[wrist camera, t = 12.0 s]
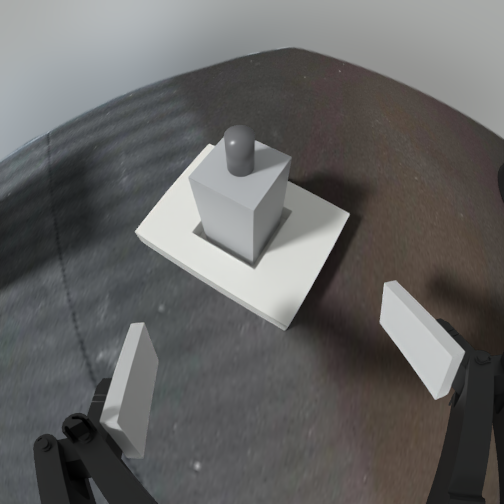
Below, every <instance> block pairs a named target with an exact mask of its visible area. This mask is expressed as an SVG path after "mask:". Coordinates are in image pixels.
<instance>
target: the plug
mask: <svg viewBox="0 0 504 504" xmlns="http://www.w3.org/2000/svg"><path fill="white" fill-rule="evenodd" d="M291 159H292V157H290V156H288V155H286V154H284V153H282V152H280V151H277V150H275V149H273V148H271V147H269V146H267V145H264V144H262V143H260V142H258V141H255V133H254V131H253V130H252V129H251V128H250V127H248V126H245V125H235V126H232V127H230V128H228V129H227V130H226V131H225V133H224V137H223V138H222V139H221V141H220V142H219V143H218V144H217V145H216V146H215V147H214V148H213V149H212V150H211V152H210V153H209V154H208V155H207V156H206V157H205V158H204V159H203V161H202V162H201V163H200V164H199V165H198V166H197V168H196V169H195V170H194V171H193V172H192V173H191V174H190V176H189V177H188V178H189V182H190V185H191V189H192V192H193V195H194V199H195V202H196V205H197V209H198V212H199V215H200V218H201V222H202V225H203V228H204V231H205V234H206V238H207V240H209V241H210V242H212V243H214V244H216V245H217V246H219V247H221V248H222V249H224V250H226V251H228V252H229V253H231V254H233V255H234V256H236V257H238V258H240V259H241V260H243V261H245V262H247V263H248V264H250V265H252V266H253V265H254V263H255V262H256V260H257V259H258V257H259V256H260V254H261V253H262V251H263V250H264V248H265V246H266V245H267V243H268V242H269V240H270V239H271V237H272V236H273V234H274V232H275V231H276V229H277V228H278V226H279V225H280V221H281V216H282V210H283V205H284V199H285V194H286V188H287V182H288V176H289V171H290V165H291Z"/></svg>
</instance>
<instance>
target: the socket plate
mask: <svg viewBox="0 0 504 504" xmlns="http://www.w3.org/2000/svg"><path fill="white" fill-rule="evenodd" d="M214 147H215V146H213V145H211V144H208V145H207V146H206V148H205V149H204V150H203V151H202V152H201V153H200V154H199V155H198V156H197V158H196V159H195V160H194V161H193V162H192V163H191V164H190V165H189V167H188V168H187V169H186V170H185V171H184V172H183V173H182V175H181V176H180V177H179V178H178V179H177V180H176V182H175V183H174V184H173V185H172V186H171V187H170V189H169V190H168V191H167V192H166V193H165V195H164V196H163V197H162V198H161V199H160V201H159V202H158V203H157V204H156V206H155V207H154V208H153V209H152V211H151V212H150V213H149V214H148V216H147V217H146V218H145V219H144V221H143V222H142V223H141V224H140V226H139V227H138V228H137V230H136V231H135V233H136V234H137V236H138V237H139V238H140V239H141V241H142V242H143V243H144V244H146V245H147V246H149V247H150V248H152V249H153V250H155V251H156V252H158V253H159V254H161V255H163V256H164V257H166V258H167V259H169V260H170V261H172V262H173V263H175V264H176V265H178V266H179V267H181V268H183V269H184V270H186V271H187V272H189V273H190V274H192V275H194V276H195V277H197V278H198V279H200V280H201V281H203V282H205V283H206V284H208V285H209V286H211V287H213V288H214V289H216V290H217V291H219V292H221V293H222V294H224V295H226V296H227V297H229V298H230V299H232V300H234V301H235V302H237V303H239V304H240V305H242V306H244V307H245V308H247V309H249V310H250V311H252V312H254V313H255V314H257V315H259V316H260V317H262V318H264V319H265V320H267V321H269V322H271V323H272V324H274V325H276V326H277V327H279V328H281V329H283V330H284V331H285V330H286V329H287V328H288V326H289V325H290V323H291V321H292V320H293V318H294V316H295V314H296V313H297V311H298V309H299V308H300V306H301V304H302V302H303V301H304V299H305V297H306V295H307V294H308V292H309V290H310V288H311V286H312V285H313V283H314V281H315V279H316V277H317V276H318V274H319V272H320V270H321V268H322V266H323V265H324V263H325V261H326V259H327V257H328V255H329V253H330V252H331V250H332V248H333V246H334V244H335V242H336V240H337V238H338V236H339V234H340V232H341V231H342V229H343V227H344V225H345V223H346V221H347V219H348V217H349V215H350V214H349V213H348V212H346V211H344V210H342V209H340V208H339V207H337V206H335V205H333V204H331V203H329V202H328V201H326V200H324V199H322V198H320V197H318V196H316V195H314V194H312V193H311V192H309V191H307V190H305V189H303V188H301V187H299V186H297V185H295V184H293V183H291V182H289V181H288V182H287V188H286V194H285V199H284V205H283V210H282V216H281V221H280V225H279V226H278V228H277V229H276V231H275V232H274V234H273V236H272V237H271V239H270V240H269V242H268V243H267V245H266V246H265V248H264V250H263V251H262V253H261V254H260V256H259V257H258V259H257V260H256V262H255V263H254V265H253V266H252V265H250V264H248V263H247V262H245V261H243V260H241V259H240V258H238V257H236V256H234V255H233V254H231V253H229V252H228V251H226V250H224V249H222V248H221V247H219V246H217V245H216V244H214V243H212V242H210V241H209V240H207V238H206V234H205V231H204V228H203V225H202V222H201V218H200V215H199V212H198V209H197V205H196V202H195V199H194V195H193V192H192V189H191V185H190V182H189V178H188V177H189V176H190V174H191V173H192V172H193V171H194V170H195V169H196V168H197V166H198V165H199V164H200V163H201V162H202V161H203V159H204V158H205V157H206V156H207V155H208V154H209V153H210V152H211V150H212V149H213V148H214Z"/></svg>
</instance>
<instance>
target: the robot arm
mask: <svg viewBox="0 0 504 504" xmlns="http://www.w3.org/2000/svg"><path fill="white" fill-rule="evenodd" d="M498 183H499V189H500V192H501V196H502V199H503V201H504V164H503V165H502V166H501V167H500V169H499V172H498ZM380 324H381V325H382V327H383V328H384V329H385V331H386V332H387V333H388V335H389V336H390V337H391V339H392V340H393V341H394V343H395V344H396V345H397V347H398V348H399V349H400V351H401V352H402V353H403V355H404V356H405V358H406V359H407V360H408V362H409V363H410V364H411V366H412V367H413V369H414V370H415V371H416V373H417V374H418V376H419V377H420V379H421V380H422V381H423V383H424V384H425V386H426V387H427V388H428V390H429V391H430V393H431V394H432V396H433V397H434V399H435V400H436V399H438V398H441V397H443V396H445V395H447V394H448V392H449V390H450V388H451V386H452V387H453V388H454V389H455V392H454V394H453V396H452V398H451V400H450V402H449V406H450V405H451V403H452V405H451V411H450V417H449V422H448V427H447V432H446V436H445V441H444V445H443V449H442V453H441V457H440V460H439V464H438V468H437V471H436V475H435V478H434V481H433V484H432V487H431V490H430V493H429V496H428V499H427V502H426V504H485V499H484V498H483V497H482V490H483V485H484V480H485V475H486V469H487V463H488V456H489V449H490V441H491V431H492V423H493V429H494V436H495V443H496V451H497V460H498V471H499V487H500V504H504V352H503V354H502V355H496V356H491V355H490V354H489V353H488V352H486V351H483V350H476V351H475V350H474V349H473V347H472V346H471V345H470V344H469V343H468V342H467V341H466V340H465V339H464V338H463V337H462V336H461V335H459V333H458V332H457V331H456V330H454V328H453V327H452V326H451V325H450V324H449V323H448V322H446V321H444V320H442V319H437V320H435V319H434V318H433V317H432V316H431V315H430V314H429V313H428V312H427V311H426V310H425V309H424V308H423V307H422V306H421V305H420V304H419V303H418V302H417V301H416V300H415V299H414V298H413V297H412V296H411V295H410V294H409V293H408V292H407V291H406V290H405V289H404V288H403V287H402V286H401V285H400V284H399V283H398V282H397V281H396V280H395V281H391V282H386V283H384V290H383V299H382V308H381V316H380ZM158 362H159V360H158V358H157V355H156V353H155V350H154V348H153V345H152V342H151V340H150V337H149V334H148V332H147V329H146V326H145V323H144V322H143V323H134V324H131V325H130V328H129V331H128V334H127V337H126V339H125V342H124V345H123V348H122V351H121V354H120V357H119V360H118V363H117V366H116V369H115V372H114V375H113V378H103V380H102V381H101V382H100V383H99V384H98V386H97V388H96V391H95V394H94V396H93V399H92V403H91V405H90V409H89V412H88V415H87V416H86V415H85V414H82V413H75V414H72V415H70V416H69V417H67V418H66V419H65V421H64V422H63V425H62V431H63V433H64V434H65V435H66V437H67V438H66V439H61V440H57V439H56V438H55V437H54V436H53V435H50V434H44V435H42V436H40V437H38V438H37V439H36V441H35V443H34V448H33V450H34V460H35V468H36V475H37V482H38V488H39V494H40V499H41V504H96V502H95V499H94V496H93V492H92V489H91V486H90V483H89V479H88V478H91V477H92V478H93V480H94V482H95V483H96V485H97V486H98V488H99V489H100V491H101V492H102V494H103V495H104V497H105V498H106V500H107V501H108V503H109V504H158V503H157V502H156V501H155V500H154V498H153V497H152V496H151V495H150V494H149V493H148V492H147V490H146V489H145V488H144V487H143V486H142V484H141V483H140V482H139V481H138V480H137V478H136V477H135V476H134V475H133V473H132V472H131V471H130V470H129V468H128V467H127V466H126V464H125V463H124V462H123V460H122V459H121V456H122V452H123V453H124V454H125V455H126V457H127V458H143V457H144V450H145V442H146V435H147V428H148V421H149V414H150V408H151V402H152V396H153V390H154V384H155V378H156V373H157V367H158Z"/></svg>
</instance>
